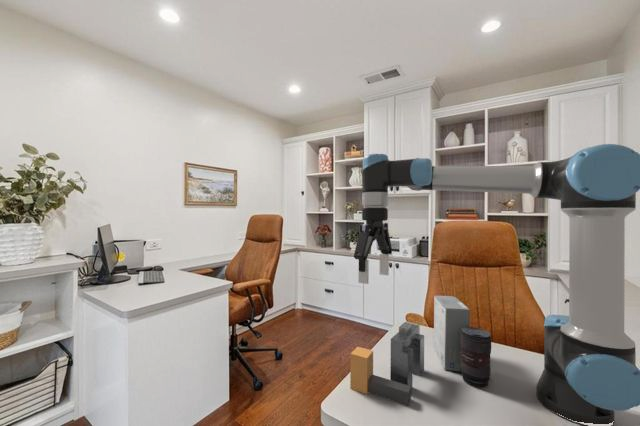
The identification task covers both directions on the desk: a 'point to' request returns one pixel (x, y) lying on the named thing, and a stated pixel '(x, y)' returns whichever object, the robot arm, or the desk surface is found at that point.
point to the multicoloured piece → (375, 379)
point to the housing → (407, 354)
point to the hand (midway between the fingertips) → (374, 278)
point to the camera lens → (475, 356)
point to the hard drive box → (449, 330)
